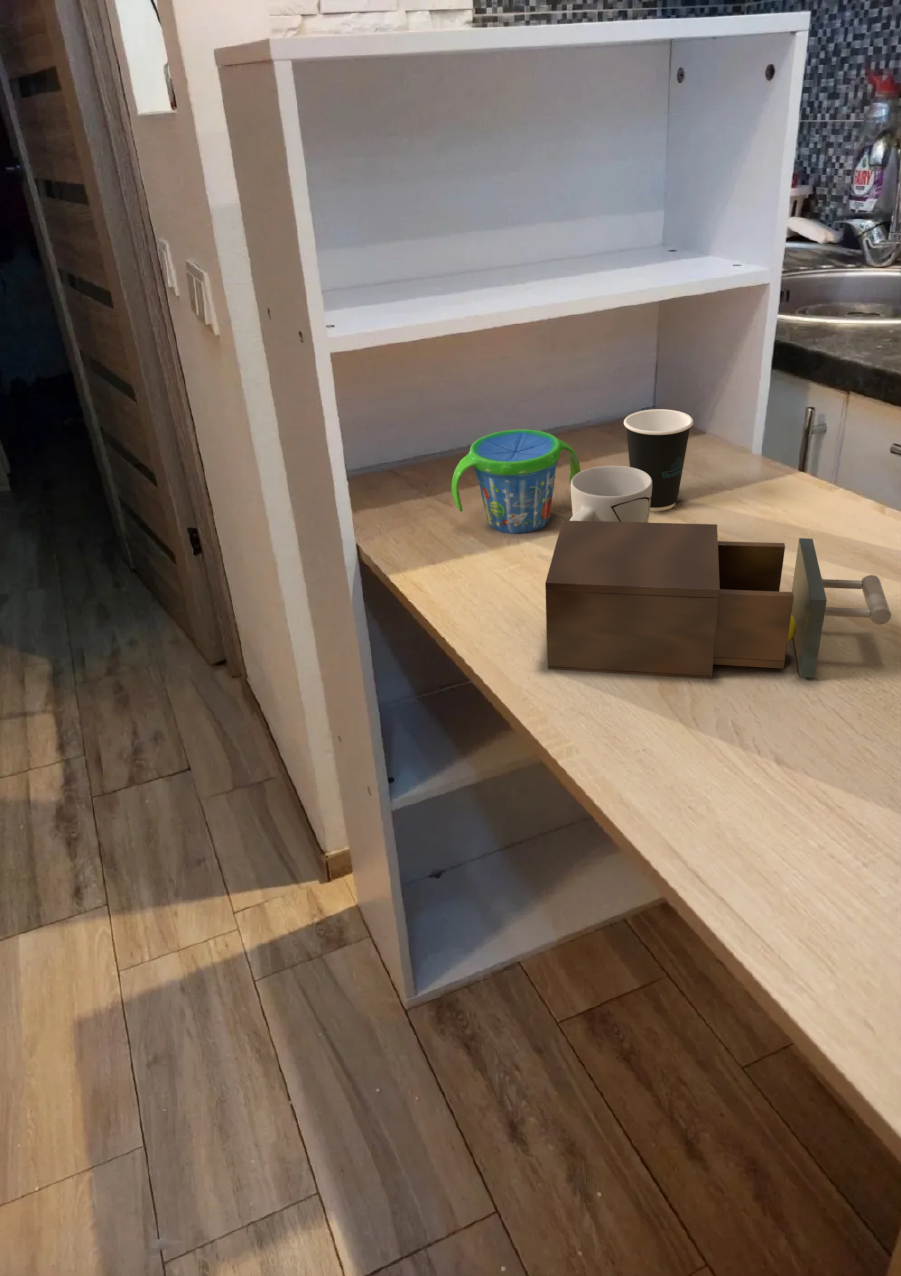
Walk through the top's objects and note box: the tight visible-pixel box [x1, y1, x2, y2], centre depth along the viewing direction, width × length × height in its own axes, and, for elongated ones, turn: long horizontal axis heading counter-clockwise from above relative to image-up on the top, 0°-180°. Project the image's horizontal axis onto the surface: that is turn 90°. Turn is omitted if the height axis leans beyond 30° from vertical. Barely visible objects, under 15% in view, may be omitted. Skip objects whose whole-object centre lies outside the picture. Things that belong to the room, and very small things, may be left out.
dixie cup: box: [623, 408, 694, 512], centre depth 111 cm, size 8×8×11 cm
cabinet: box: [544, 520, 720, 680], centre depth 86 cm, size 15×13×10 cm
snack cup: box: [451, 429, 582, 535], centre depth 110 cm, size 16×10×10 cm
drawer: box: [713, 537, 892, 679], centre depth 84 cm, size 19×11×8 cm, turn 77°
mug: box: [568, 465, 652, 523], centre depth 99 cm, size 11×8×10 cm
